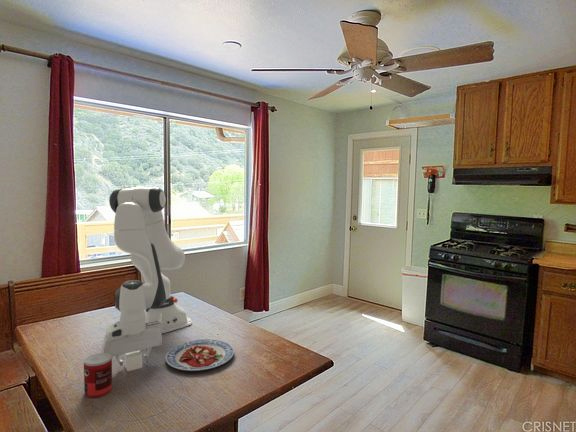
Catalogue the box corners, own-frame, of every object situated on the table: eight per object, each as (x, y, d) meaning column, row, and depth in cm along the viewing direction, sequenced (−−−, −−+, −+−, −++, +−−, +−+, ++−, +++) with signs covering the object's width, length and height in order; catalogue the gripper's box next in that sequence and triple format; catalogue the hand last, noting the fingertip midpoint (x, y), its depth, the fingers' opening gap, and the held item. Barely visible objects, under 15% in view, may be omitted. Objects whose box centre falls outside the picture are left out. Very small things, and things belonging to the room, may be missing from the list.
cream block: (139, 362, 131) (139, 349, 130) (142, 367, 127) (142, 354, 126) (124, 365, 128) (124, 352, 127) (127, 371, 124) (127, 358, 123)
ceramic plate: (150, 367, 128) (150, 359, 127) (193, 340, 152) (193, 333, 151) (209, 382, 118) (209, 373, 118) (245, 350, 142) (245, 343, 142)
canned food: (91, 385, 114) (90, 353, 114) (116, 384, 115) (115, 352, 114) (79, 398, 107) (78, 364, 106) (106, 398, 108) (105, 363, 107)
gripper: (159, 317, 135) (160, 351, 136) (100, 328, 123) (101, 366, 124) (164, 322, 130) (164, 358, 131) (103, 334, 118) (103, 373, 119)
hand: (133, 362), depth 127 cm, fingers open, 7 cm apart
